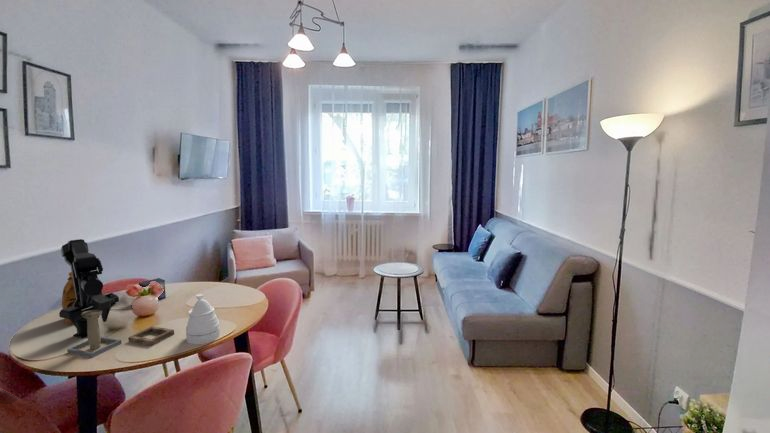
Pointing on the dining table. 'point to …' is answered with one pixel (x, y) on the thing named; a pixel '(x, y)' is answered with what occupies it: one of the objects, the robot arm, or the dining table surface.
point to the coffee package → (68, 295)
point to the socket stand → (145, 341)
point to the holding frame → (91, 354)
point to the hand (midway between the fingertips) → (93, 326)
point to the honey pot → (202, 323)
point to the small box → (160, 281)
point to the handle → (93, 328)
